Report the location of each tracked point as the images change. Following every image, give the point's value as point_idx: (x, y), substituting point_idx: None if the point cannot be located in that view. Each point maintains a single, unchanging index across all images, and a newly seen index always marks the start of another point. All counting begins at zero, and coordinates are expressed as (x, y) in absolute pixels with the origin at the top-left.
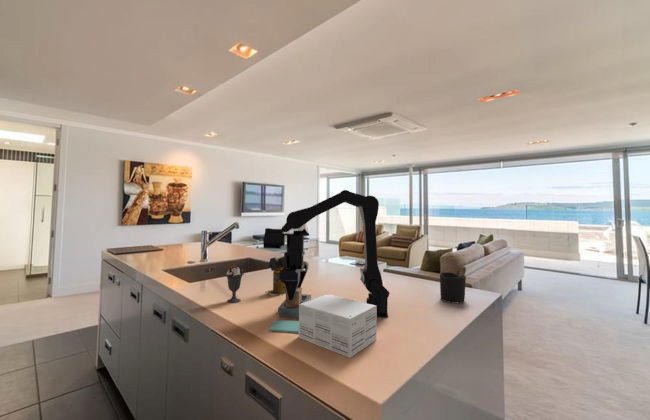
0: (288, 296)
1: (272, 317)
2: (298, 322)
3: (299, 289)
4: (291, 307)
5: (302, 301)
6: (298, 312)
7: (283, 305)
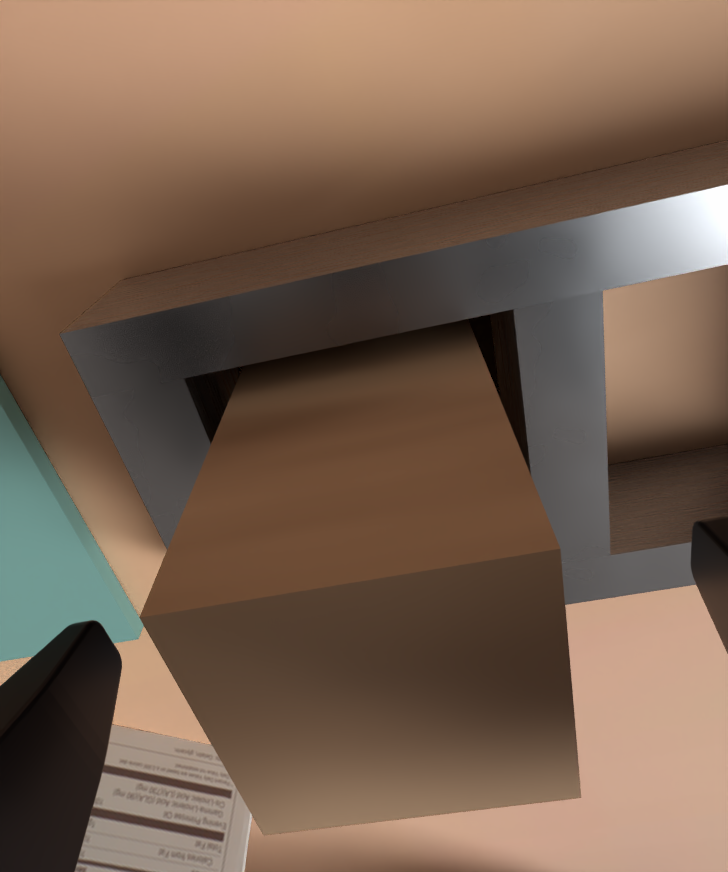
0: (15, 677)
1: (65, 200)
2: (79, 596)
3: (411, 804)
4: None
5: None
6: None
7: (222, 361)
